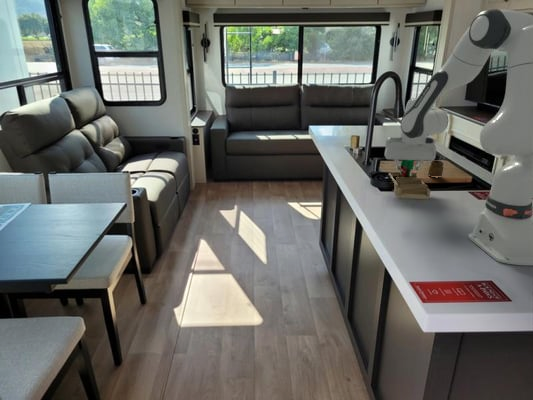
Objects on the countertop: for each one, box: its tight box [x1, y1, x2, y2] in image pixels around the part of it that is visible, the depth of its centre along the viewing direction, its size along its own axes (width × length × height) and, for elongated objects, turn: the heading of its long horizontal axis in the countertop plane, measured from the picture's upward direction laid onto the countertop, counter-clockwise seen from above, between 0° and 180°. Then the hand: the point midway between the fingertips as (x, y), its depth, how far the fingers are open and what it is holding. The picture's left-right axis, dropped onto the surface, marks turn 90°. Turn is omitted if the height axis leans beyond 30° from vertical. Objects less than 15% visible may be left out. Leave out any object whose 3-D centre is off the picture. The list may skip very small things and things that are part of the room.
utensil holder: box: [428, 153, 446, 177], centre depth 176 cm, size 6×6×12 cm
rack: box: [387, 170, 431, 200], centre depth 162 cm, size 20×12×5 cm, turn 176°
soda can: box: [399, 160, 415, 178], centre depth 164 cm, size 5×5×12 cm
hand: (407, 169), depth 163 cm, fingers open, 6 cm apart
